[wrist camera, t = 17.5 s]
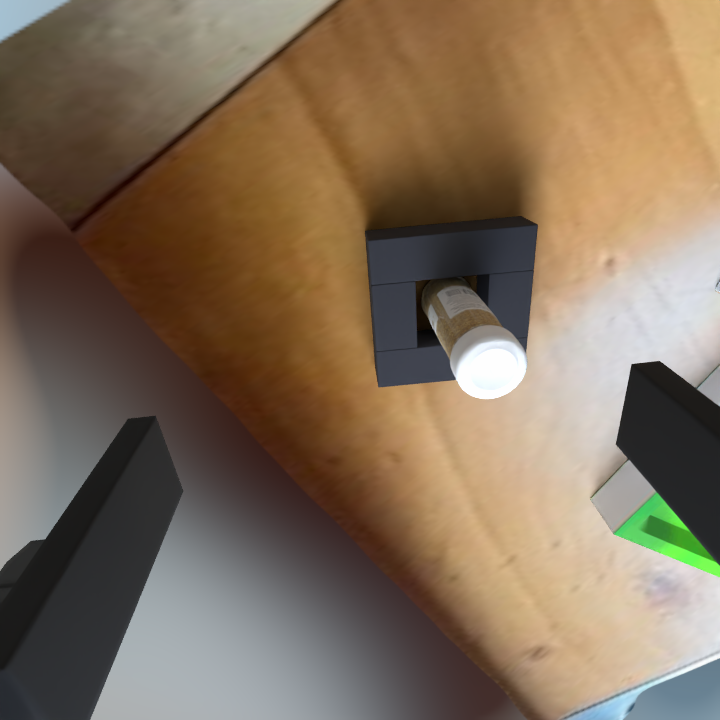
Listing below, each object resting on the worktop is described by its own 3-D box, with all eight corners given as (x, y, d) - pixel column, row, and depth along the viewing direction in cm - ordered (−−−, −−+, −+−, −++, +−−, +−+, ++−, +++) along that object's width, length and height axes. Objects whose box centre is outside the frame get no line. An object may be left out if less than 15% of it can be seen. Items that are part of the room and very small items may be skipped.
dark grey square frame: (364, 230, 38) (367, 240, 35) (521, 215, 38) (538, 224, 35) (375, 368, 44) (378, 387, 41) (510, 355, 44) (524, 373, 41)
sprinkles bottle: (412, 312, 41) (444, 390, 29) (433, 264, 39) (476, 327, 28) (458, 327, 42) (507, 409, 30) (481, 281, 40) (543, 349, 28)
